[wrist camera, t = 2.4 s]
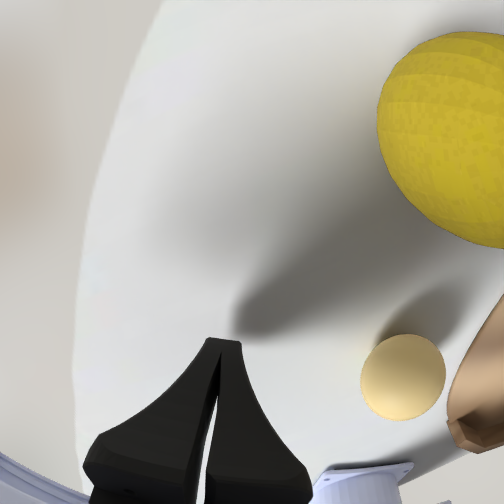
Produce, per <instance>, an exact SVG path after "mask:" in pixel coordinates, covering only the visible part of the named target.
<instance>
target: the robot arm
mask: <svg viewBox="0 0 504 504" xmlns="http://www.w3.org/2000/svg"><path fill="white" fill-rule="evenodd" d="M217 396H218V398H217ZM216 399H217V414H216V419H215V425H214V430H213V436H212V441H211V447H210V452H209V457H208V462H207V467H206V480H205V500H204V504H402V501H401V497H400V493H399V489H398V485H397V483H398V482H399V481H400V480H401V479H402V478H403V477H404V476H405V475H406V474H407V473H408V472H409V471H410V470H411V469H412V468H413V467H414V463H413V462H408V463H402V464H395V465H388V466H380V467H371V468H360V469H347V470H329V471H326V472H324V473H323V474H322V475H321V477H320V478H319V479H318V481H317V482H316V483H315V485H314V486H313V487H312V484H311V480H310V477H309V474H308V472H307V469H306V467H305V466H304V465H303V464H302V463H301V462H300V461H299V460H298V459H297V458H296V457H295V456H294V455H293V453H292V452H291V451H290V450H289V449H288V448H287V446H286V445H285V444H284V443H283V441H282V440H281V439H280V437H279V436H278V434H277V433H276V431H275V430H274V429H273V427H272V426H271V424H270V422H269V421H268V419H267V417H266V416H265V414H264V412H263V410H262V408H261V406H260V404H259V402H258V400H257V398H256V396H255V394H254V391H253V389H252V386H251V383H250V381H249V378H248V375H247V371H246V368H245V364H244V360H243V355H242V344H241V343H240V342H239V341H233V340H226V339H219V338H212V337H209V338H207V339H206V340H205V342H204V344H203V346H202V348H201V349H200V351H199V352H198V354H197V355H196V357H195V358H194V360H193V361H192V362H191V363H190V365H189V366H188V367H187V369H186V370H185V371H184V372H183V373H182V374H181V376H180V377H179V378H178V379H177V380H176V381H175V382H174V383H173V384H172V385H171V386H170V387H169V388H168V389H167V390H166V391H165V392H164V393H163V394H162V395H161V396H160V397H159V398H157V399H156V400H155V401H154V402H152V403H151V404H150V405H149V406H147V407H146V408H145V409H143V410H142V411H140V412H139V413H137V414H136V415H134V416H133V417H131V418H130V419H128V420H126V421H125V422H123V423H121V424H120V425H118V426H116V427H114V428H112V429H110V430H108V431H105V432H103V433H101V434H99V435H98V437H97V438H96V440H95V441H94V443H93V444H92V446H91V447H90V449H89V451H88V453H87V456H86V458H85V461H84V463H83V469H84V472H85V473H86V475H87V476H88V478H89V479H90V480H91V482H92V483H93V485H94V488H93V491H92V494H91V497H90V496H88V495H85V494H83V493H80V492H78V491H75V490H72V489H70V488H68V487H66V486H63V485H61V484H59V483H57V482H55V481H53V480H50V479H48V478H46V477H44V476H42V475H40V474H38V473H36V472H34V471H32V470H31V469H29V468H27V467H25V466H23V465H21V464H20V463H18V462H16V461H14V460H12V459H11V458H9V457H8V456H6V455H4V454H2V453H1V452H0V504H196V499H197V492H198V485H199V478H200V471H201V464H202V458H203V451H204V445H205V441H206V436H207V433H208V429H209V425H210V422H211V418H212V414H213V411H214V407H215V403H216ZM438 504H451V501H450V500H448V501H445V502H441V503H438Z"/></svg>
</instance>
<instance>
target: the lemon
mask: <svg viewBox="0 0 504 504" xmlns="http://www.w3.org/2000/svg"><path fill="white" fill-rule="evenodd" d="M377 133H378V139H379V144H380V150H381V153H382V156H383V158H384V161H385V163H386V166H387V168H388V171H389V173H390V175H391V177H392V178H393V180H394V181H395V183H396V184H397V186H398V187H399V188H400V190H401V191H402V193H403V194H404V196H405V197H406V198H407V200H408V201H409V202H411V203H412V204H413V205H414V206H415V207H416V208H417V209H418V210H419V211H420V212H421V213H422V214H424V215H425V216H426V217H427V218H428V219H429V220H430V221H432V222H433V223H434V224H436V225H438V226H439V227H441V228H443V229H445V230H447V231H449V232H451V233H453V234H454V235H456V236H458V237H460V238H462V239H465V240H467V241H469V242H472V243H475V244H479V245H483V246H487V247H494V248H501V249H504V35H499V34H493V33H482V32H455V33H449V34H446V35H442V36H440V37H437V38H434V39H431V40H429V41H426V42H424V43H422V44H420V45H418V46H416V47H415V48H414V49H413V50H411V51H410V52H409V53H408V54H407V55H406V56H405V57H404V58H402V59H401V60H400V61H399V62H398V63H397V64H396V65H395V67H394V69H393V70H392V72H391V74H390V75H389V77H388V79H387V80H386V82H385V84H384V86H383V88H382V92H381V96H380V99H379V103H378V107H377Z"/></svg>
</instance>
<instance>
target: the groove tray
mask: <svg viewBox="0 0 504 504" xmlns="http://www.w3.org/2000/svg"><path fill="white" fill-rule="evenodd" d="M447 416H448V419H449V420H448V421H447V422H446V423H447V425H448V427H449V429H450V432H451V434H452V436H453V439H454V441H455V443H456V446H457V447H460V448H462V449H465V450H468V451H470V452H473V453H476V454H479V453H483V452H486V451H489V450H492V449H495V448H497V447H500V446H503V445H504V295H503V296H502V298H501V299H500V301H499V302H498V303H497V305H496V306H495V308H494V309H493V311H492V312H491V313H490V315H489V317H488V318H487V320H486V321H485V323H484V324H483V326H482V328H481V329H480V331H479V332H478V334H477V336H476V337H475V339H474V341H473V342H472V344H471V346H470V347H469V349H468V351H467V353H466V355H465V357H464V359H463V361H462V362H461V364H460V366H459V368H458V371H457V373H456V375H455V378H454V380H453V383H452V386H451V389H450V392H449V395H448V401H447Z"/></svg>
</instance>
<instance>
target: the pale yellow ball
mask: <svg viewBox="0 0 504 504" xmlns="http://www.w3.org/2000/svg"><path fill="white" fill-rule="evenodd" d="M445 379H446V368H445V363H444V359H443V357H442V355H441V353H440V351H439V350H438V348H437V347H436V346H435V345H434V344H433V343H432V342H431V341H429V340H428V339H426V338H424V337H421V336H419V335H414V334H401V335H396V336H393V337H390V338H388V339H386V340H384V341H383V342H381V343H380V344H379V345H377V346H376V347H375V348H374V349H373V350H372V352H371V353H370V354H369V356H368V357H367V359H366V361H365V363H364V365H363V368H362V372H361V379H360V386H361V391H362V395H363V398H364V400H365V402H366V403H367V405H368V406H369V408H370V409H371V410H372V411H373V412H374V413H376V414H377V415H379V416H381V417H382V418H385V419H388V420H392V421H405V420H410V419H413V418H416V417H418V416H420V415H422V414H424V413H425V412H426V411H428V410H429V409H430V408H431V407H432V406H433V405H434V404H435V403H436V401H437V400H438V398H439V397H440V395H441V393H442V390H443V388H444V384H445Z"/></svg>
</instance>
